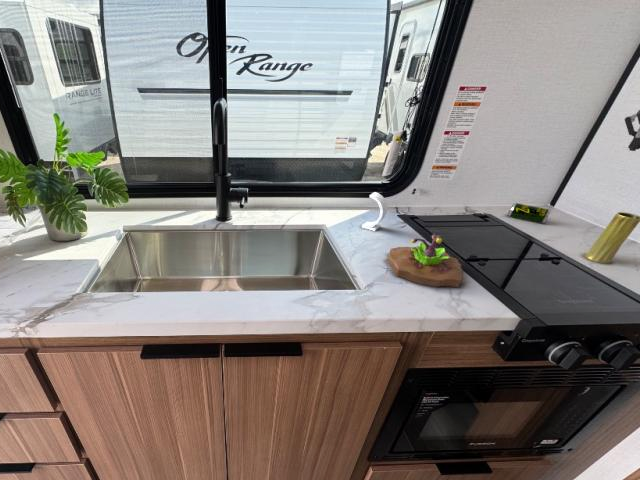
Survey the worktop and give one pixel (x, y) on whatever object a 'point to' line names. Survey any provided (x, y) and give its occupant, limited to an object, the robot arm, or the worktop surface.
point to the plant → (426, 264)
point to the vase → (613, 237)
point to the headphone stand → (383, 211)
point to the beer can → (528, 213)
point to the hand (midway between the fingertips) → (631, 150)
